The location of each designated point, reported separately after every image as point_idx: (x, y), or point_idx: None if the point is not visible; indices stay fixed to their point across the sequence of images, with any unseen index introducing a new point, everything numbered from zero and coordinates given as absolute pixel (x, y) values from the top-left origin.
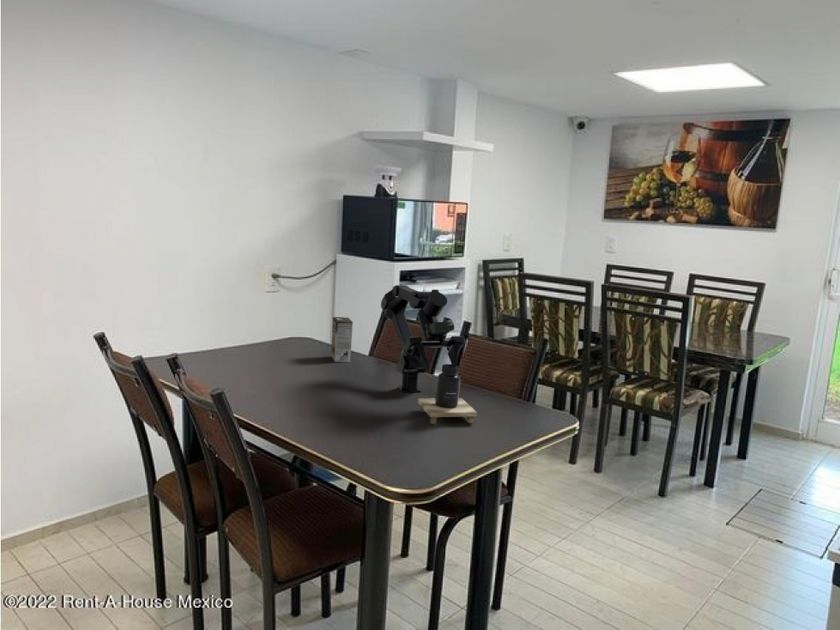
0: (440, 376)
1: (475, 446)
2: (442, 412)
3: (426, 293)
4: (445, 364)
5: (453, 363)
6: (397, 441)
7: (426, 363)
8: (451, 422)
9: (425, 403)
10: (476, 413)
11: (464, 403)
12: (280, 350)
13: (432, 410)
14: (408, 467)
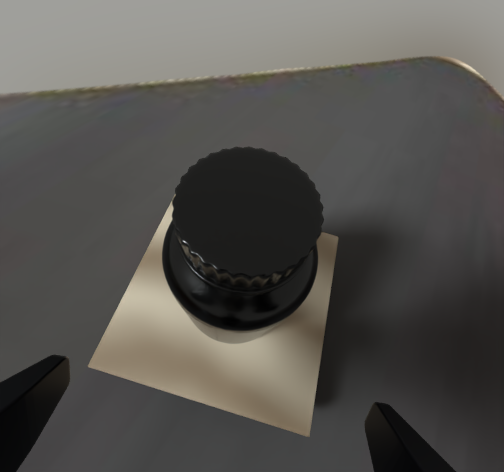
0: (316, 246)
1: (286, 113)
2: None
3: None
4: (269, 255)
5: (27, 417)
6: (441, 193)
7: (423, 444)
8: None
9: (308, 344)
10: None
11: (143, 284)
12: None
13: (320, 257)
14: (444, 103)
